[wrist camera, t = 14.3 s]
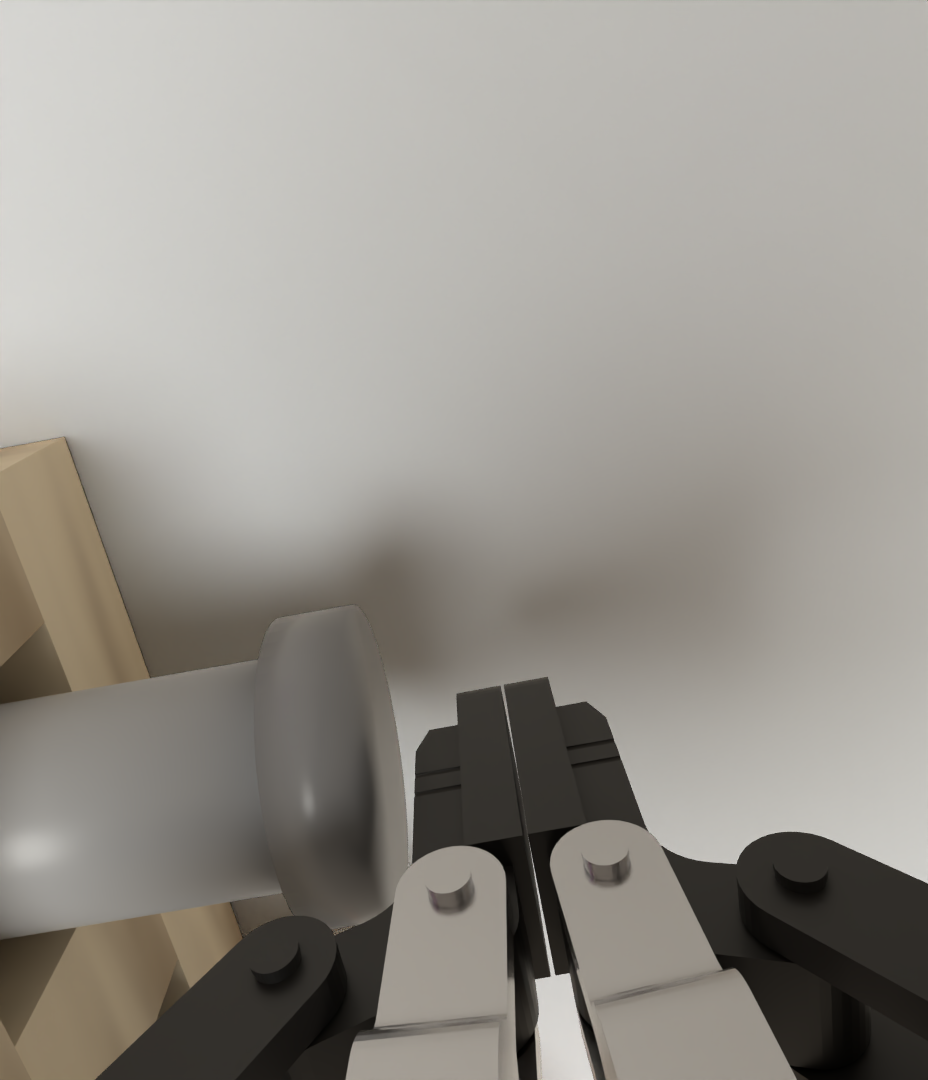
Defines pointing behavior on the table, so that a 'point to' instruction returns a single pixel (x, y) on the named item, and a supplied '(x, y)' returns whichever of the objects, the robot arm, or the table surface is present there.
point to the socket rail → (54, 668)
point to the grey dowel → (209, 788)
